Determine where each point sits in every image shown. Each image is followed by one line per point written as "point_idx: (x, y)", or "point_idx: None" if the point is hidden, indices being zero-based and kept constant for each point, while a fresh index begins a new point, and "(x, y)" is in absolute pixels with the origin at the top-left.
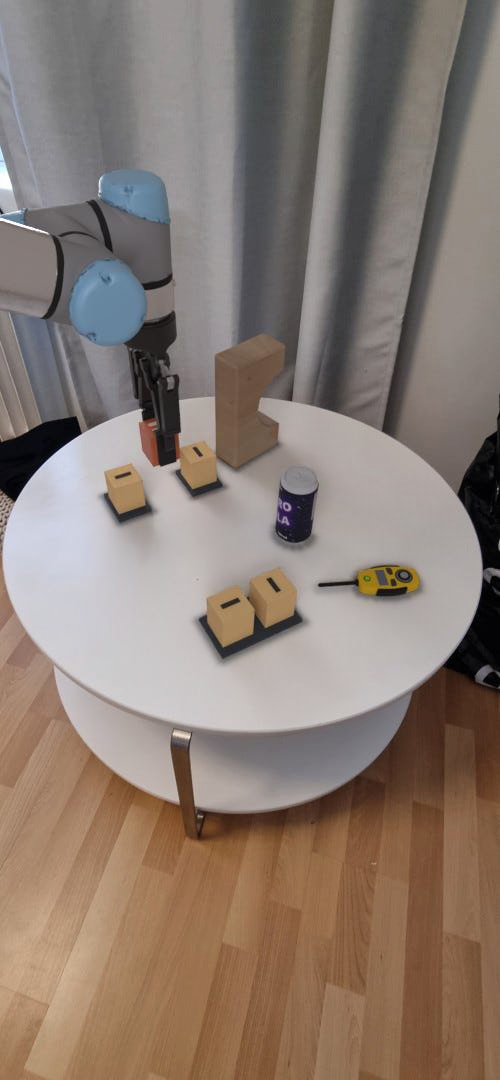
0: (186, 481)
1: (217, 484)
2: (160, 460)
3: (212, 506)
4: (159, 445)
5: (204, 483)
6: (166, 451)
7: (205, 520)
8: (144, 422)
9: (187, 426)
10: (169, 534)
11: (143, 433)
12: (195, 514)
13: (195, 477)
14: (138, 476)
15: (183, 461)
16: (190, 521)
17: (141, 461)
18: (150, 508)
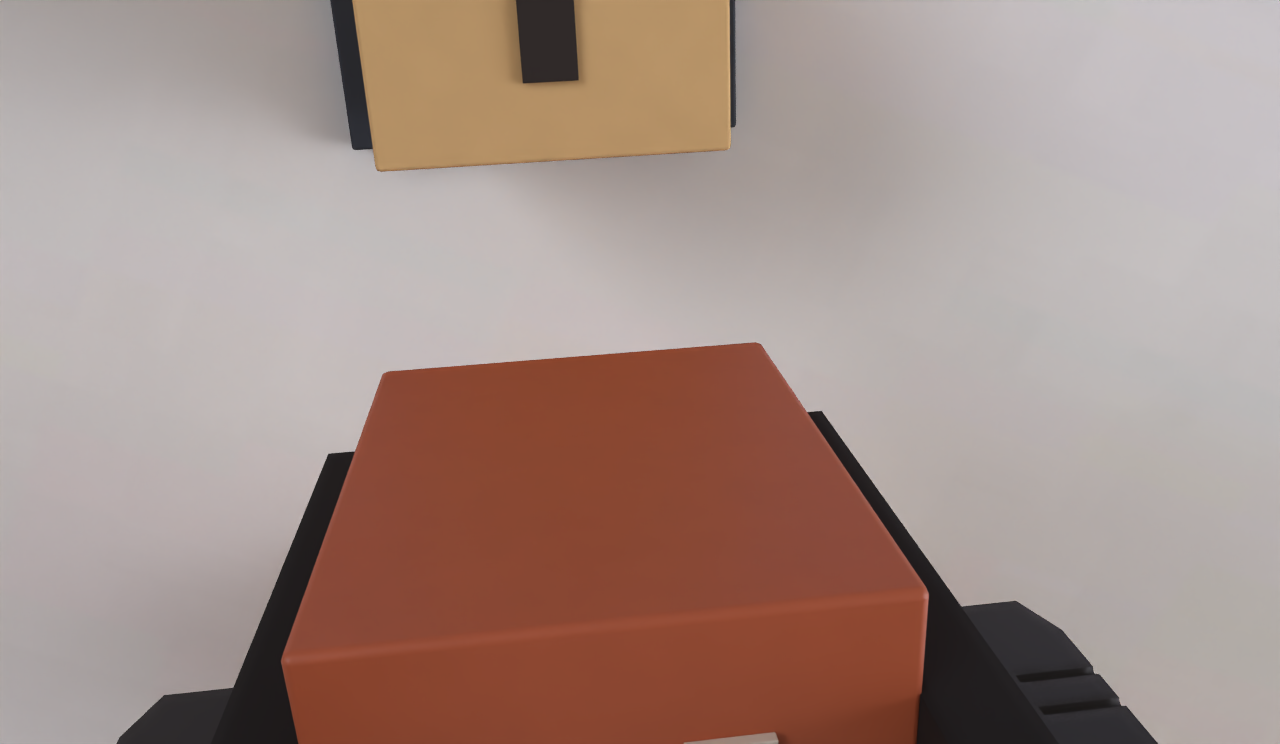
0: None
1: None
2: (306, 510)
3: (258, 588)
4: (243, 688)
5: None
6: (169, 708)
7: (116, 497)
8: (867, 689)
9: (1171, 694)
10: (23, 187)
11: (670, 548)
12: (208, 453)
13: None
14: (452, 147)
15: None
16: (137, 394)
17: (999, 272)
18: (358, 142)
